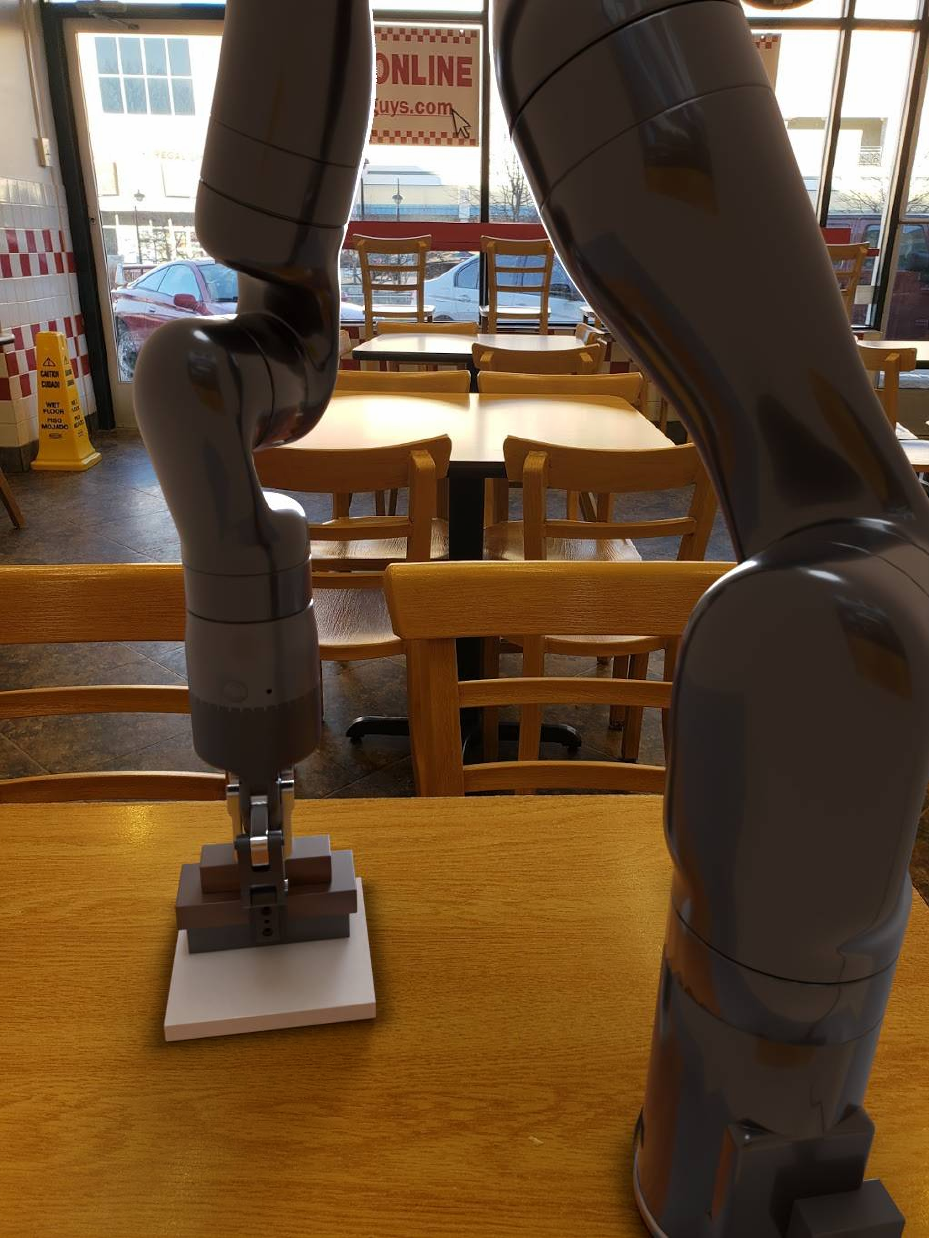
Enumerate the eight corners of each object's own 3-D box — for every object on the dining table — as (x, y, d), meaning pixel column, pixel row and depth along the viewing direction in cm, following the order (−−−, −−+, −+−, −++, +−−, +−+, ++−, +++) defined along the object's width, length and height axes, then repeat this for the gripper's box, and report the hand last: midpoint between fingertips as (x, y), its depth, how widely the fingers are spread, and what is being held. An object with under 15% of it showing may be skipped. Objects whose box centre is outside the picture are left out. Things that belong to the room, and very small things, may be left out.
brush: (353, 895, 64) (351, 823, 62) (358, 938, 60) (356, 863, 58) (186, 911, 62) (179, 837, 60) (180, 957, 58) (171, 879, 56)
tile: (375, 1017, 56) (375, 1002, 55) (165, 1041, 54) (163, 1025, 53) (361, 890, 67) (360, 876, 66) (186, 906, 65) (184, 892, 64)
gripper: (325, 727, 49) (333, 986, 55) (315, 625, 62) (323, 844, 68) (175, 736, 47) (201, 1001, 54) (197, 630, 61) (216, 853, 67)
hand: (269, 912), depth 61 cm, fingers closed on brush, 4 cm apart
